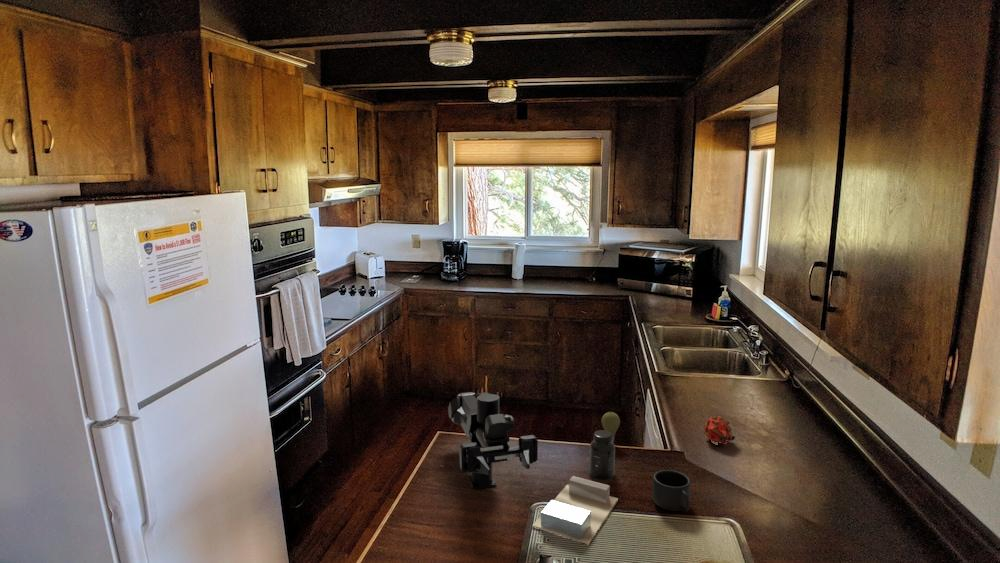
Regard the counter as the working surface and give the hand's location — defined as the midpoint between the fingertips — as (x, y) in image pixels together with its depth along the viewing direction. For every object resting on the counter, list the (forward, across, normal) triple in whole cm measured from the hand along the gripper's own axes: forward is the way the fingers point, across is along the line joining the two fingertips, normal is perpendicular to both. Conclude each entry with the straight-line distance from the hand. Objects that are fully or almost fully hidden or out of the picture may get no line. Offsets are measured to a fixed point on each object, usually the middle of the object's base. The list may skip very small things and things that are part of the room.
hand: (509, 469), depth 127 cm
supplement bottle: (-20, +33, +17) cm, 42 cm away
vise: (-4, +19, +17) cm, 25 cm away
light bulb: (-37, +44, +17) cm, 60 cm away
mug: (0, +43, +17) cm, 46 cm away
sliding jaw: (+1, +14, +16) cm, 21 cm away
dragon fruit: (-28, +76, +17) cm, 83 cm away
